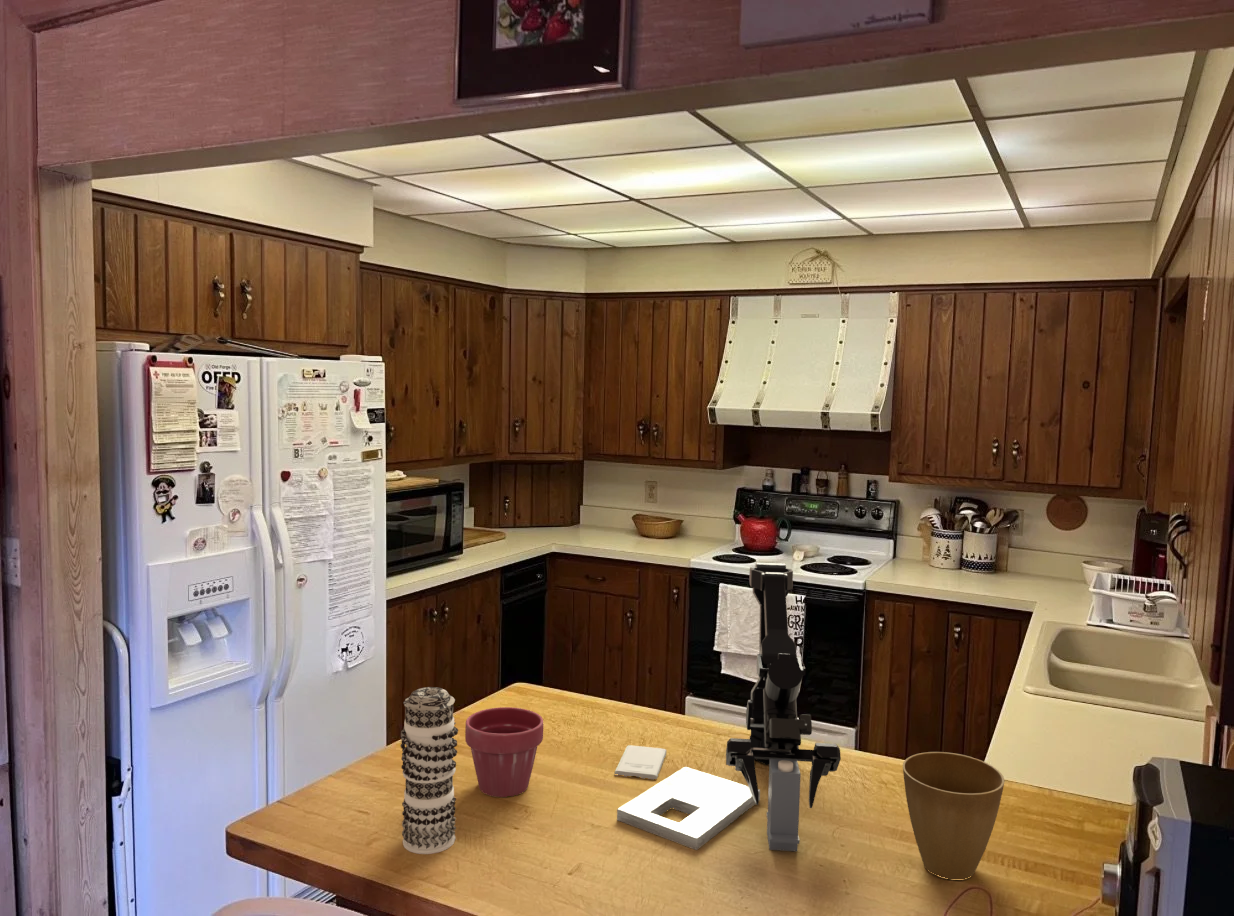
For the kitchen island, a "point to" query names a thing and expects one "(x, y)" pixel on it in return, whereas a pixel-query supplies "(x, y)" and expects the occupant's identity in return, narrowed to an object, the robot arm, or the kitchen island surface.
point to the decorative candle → (429, 771)
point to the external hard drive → (641, 762)
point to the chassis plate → (688, 807)
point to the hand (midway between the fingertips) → (784, 805)
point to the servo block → (783, 804)
